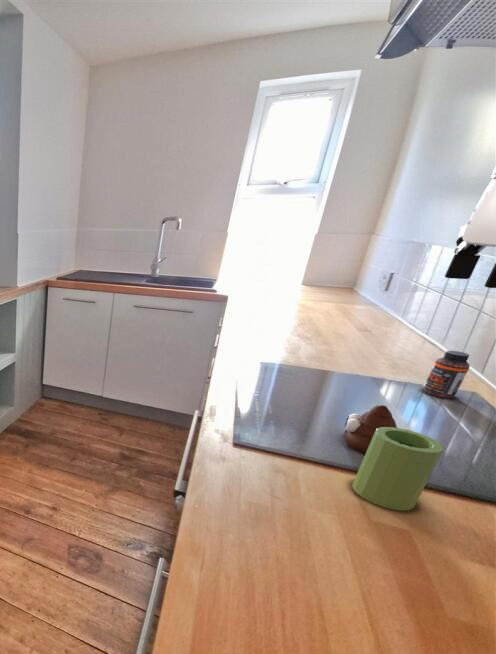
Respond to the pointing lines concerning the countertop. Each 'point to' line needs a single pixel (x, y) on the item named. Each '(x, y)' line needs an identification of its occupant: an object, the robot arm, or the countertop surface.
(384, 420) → the poop emoji
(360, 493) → the green pipe section
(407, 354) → the countertop surface
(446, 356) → the supplement bottle
